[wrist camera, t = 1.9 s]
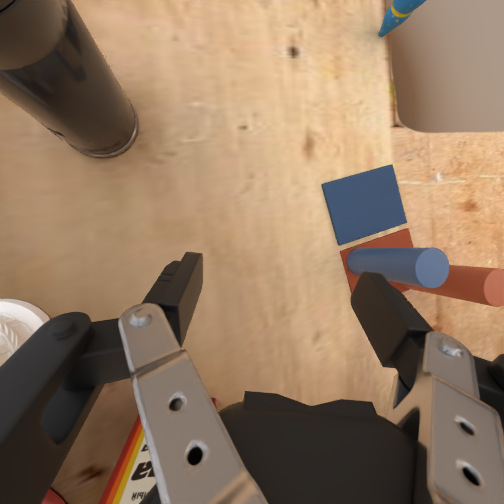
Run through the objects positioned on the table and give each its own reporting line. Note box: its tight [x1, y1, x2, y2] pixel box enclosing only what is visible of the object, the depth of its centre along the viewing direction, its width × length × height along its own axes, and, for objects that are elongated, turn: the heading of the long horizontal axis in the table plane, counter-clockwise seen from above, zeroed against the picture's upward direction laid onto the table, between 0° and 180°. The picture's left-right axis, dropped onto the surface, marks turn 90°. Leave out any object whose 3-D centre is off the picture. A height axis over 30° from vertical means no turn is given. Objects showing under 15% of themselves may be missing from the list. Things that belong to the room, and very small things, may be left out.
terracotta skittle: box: [399, 265, 504, 307], centre depth 31 cm, size 4×4×12 cm
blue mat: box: [322, 165, 407, 245], centre depth 35 cm, size 10×13×1 cm
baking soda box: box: [99, 398, 216, 504], centre depth 23 cm, size 10×6×16 cm
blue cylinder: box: [347, 248, 449, 288], centre depth 29 cm, size 4×4×12 cm
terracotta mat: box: [340, 228, 413, 293], centre depth 36 cm, size 10×13×1 cm
